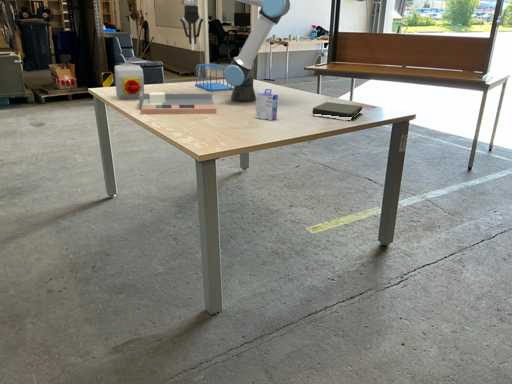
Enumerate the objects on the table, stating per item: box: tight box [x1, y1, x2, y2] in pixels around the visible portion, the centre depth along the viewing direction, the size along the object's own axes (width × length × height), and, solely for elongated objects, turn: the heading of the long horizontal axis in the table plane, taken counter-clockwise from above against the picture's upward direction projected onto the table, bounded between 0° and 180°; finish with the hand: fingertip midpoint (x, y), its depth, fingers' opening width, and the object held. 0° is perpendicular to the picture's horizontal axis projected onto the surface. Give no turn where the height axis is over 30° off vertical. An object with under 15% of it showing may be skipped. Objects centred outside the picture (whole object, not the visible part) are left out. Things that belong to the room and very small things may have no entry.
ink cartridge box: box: [255, 88, 279, 121], centre depth 215 cm, size 10×6×14 cm, turn 58°
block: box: [148, 91, 166, 103], centre depth 236 cm, size 8×8×4 cm
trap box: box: [138, 90, 217, 115], centre depth 233 cm, size 40×28×7 cm
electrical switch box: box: [114, 63, 145, 101], centre depth 252 cm, size 15×15×20 cm
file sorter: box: [194, 63, 234, 93], centre depth 297 cm, size 25×17×15 cm
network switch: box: [312, 101, 363, 117], centre depth 229 cm, size 23×23×5 cm
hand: (193, 50), depth 247 cm, fingers closed
